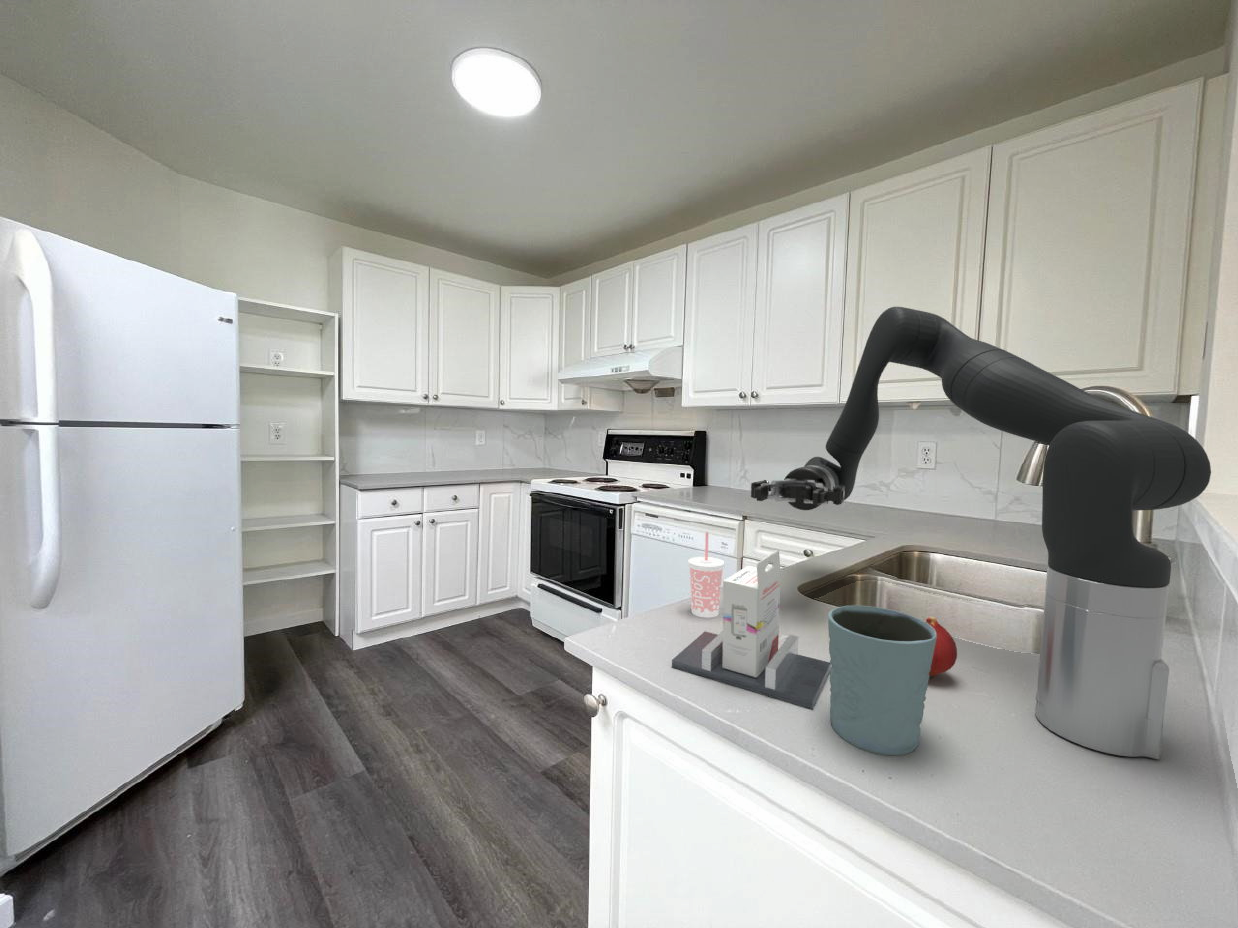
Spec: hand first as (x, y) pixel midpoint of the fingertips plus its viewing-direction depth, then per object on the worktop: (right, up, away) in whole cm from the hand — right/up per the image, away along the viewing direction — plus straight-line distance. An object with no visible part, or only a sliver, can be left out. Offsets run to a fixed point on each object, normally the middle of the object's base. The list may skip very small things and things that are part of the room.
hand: (786, 496), depth 78 cm
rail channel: (-8, -22, -10) cm, 26 cm away
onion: (+15, -23, -12) cm, 30 cm away
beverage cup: (-11, -21, +9) cm, 25 cm away
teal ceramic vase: (+2, -24, -24) cm, 33 cm away
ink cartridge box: (-8, -21, -10) cm, 25 cm away
